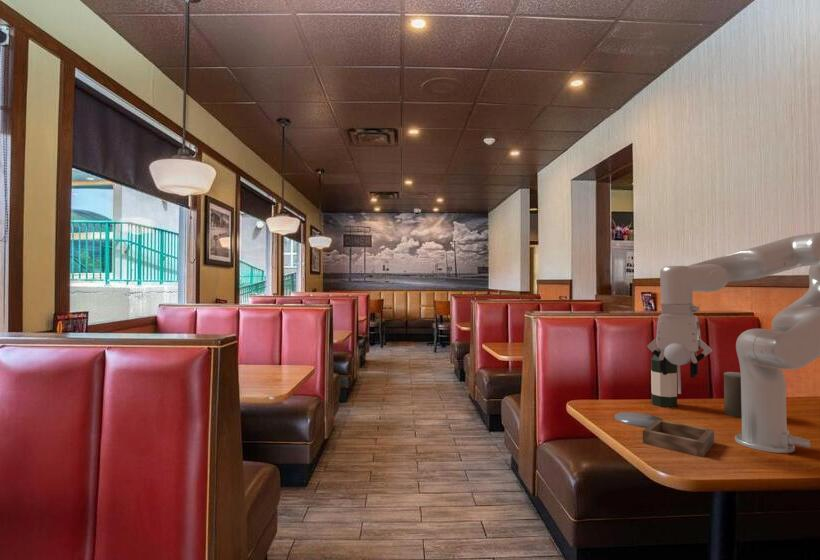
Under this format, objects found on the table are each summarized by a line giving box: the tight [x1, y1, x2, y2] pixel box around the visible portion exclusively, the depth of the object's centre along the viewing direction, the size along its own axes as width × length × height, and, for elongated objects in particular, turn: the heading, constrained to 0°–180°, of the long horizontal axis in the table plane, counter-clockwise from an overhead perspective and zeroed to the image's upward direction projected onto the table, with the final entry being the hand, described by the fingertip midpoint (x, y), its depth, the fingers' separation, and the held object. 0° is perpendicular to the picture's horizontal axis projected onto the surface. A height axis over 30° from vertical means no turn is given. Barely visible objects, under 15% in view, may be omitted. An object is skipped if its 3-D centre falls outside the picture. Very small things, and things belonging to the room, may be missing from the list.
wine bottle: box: [650, 348, 678, 409], centre depth 156 cm, size 8×8×30 cm
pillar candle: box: [723, 371, 742, 419], centre depth 144 cm, size 10×10×15 cm
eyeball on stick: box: [664, 343, 692, 395], centre depth 118 cm, size 7×7×15 cm
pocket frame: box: [642, 419, 715, 458], centre depth 118 cm, size 14×14×4 cm
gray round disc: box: [614, 411, 663, 428], centre depth 138 cm, size 14×14×1 cm
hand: (679, 375), depth 118 cm, fingers closed on eyeball on stick, 5 cm apart
